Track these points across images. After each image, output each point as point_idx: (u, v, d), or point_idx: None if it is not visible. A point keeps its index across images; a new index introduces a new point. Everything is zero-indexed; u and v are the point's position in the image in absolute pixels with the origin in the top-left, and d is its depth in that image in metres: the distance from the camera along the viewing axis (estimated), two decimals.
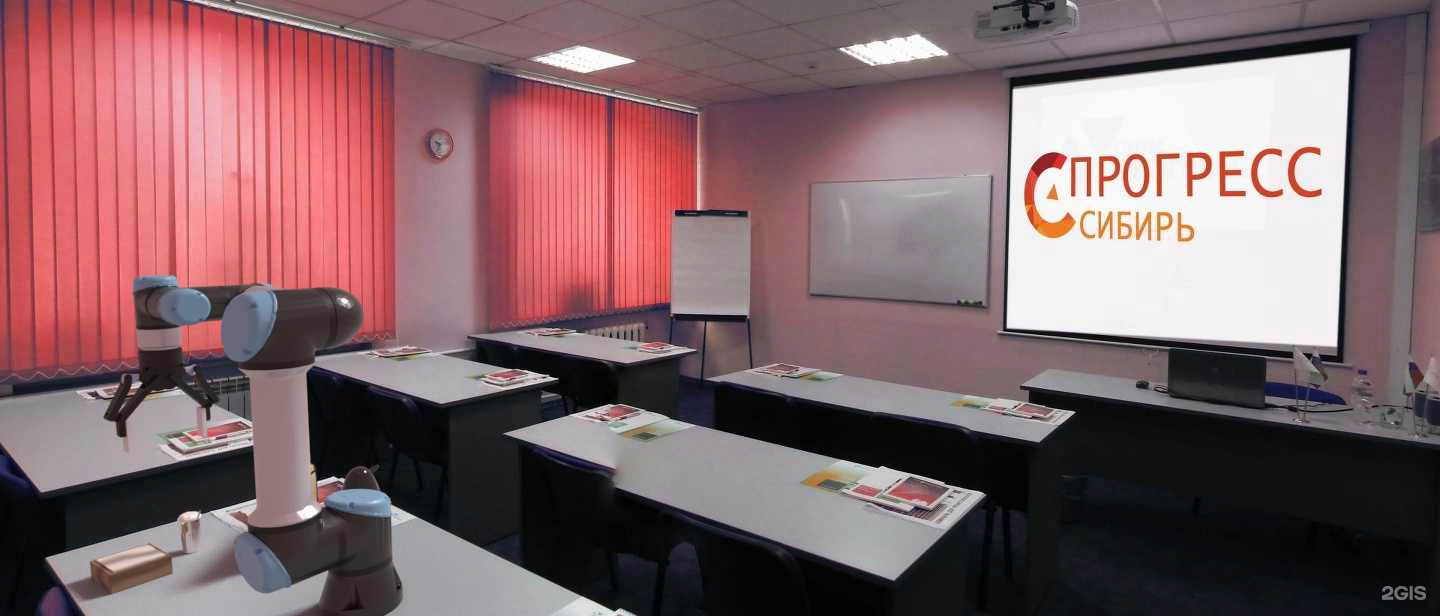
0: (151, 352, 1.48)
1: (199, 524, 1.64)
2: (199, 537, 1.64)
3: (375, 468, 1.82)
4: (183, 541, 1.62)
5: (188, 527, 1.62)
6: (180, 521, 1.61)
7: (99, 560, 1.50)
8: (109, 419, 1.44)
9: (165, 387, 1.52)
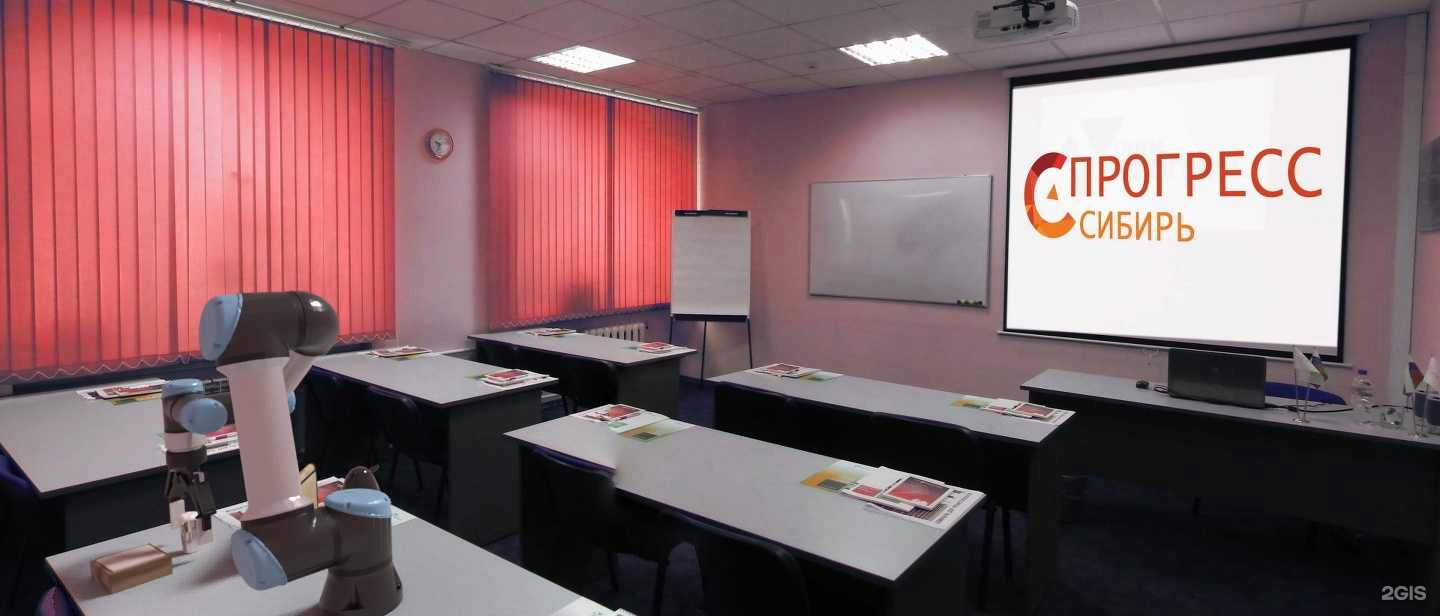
0: None
1: None
2: None
3: (375, 468, 1.82)
4: (183, 541, 1.62)
5: (188, 527, 1.62)
6: (180, 521, 1.61)
7: (99, 560, 1.50)
8: (164, 495, 1.67)
9: (183, 484, 1.61)
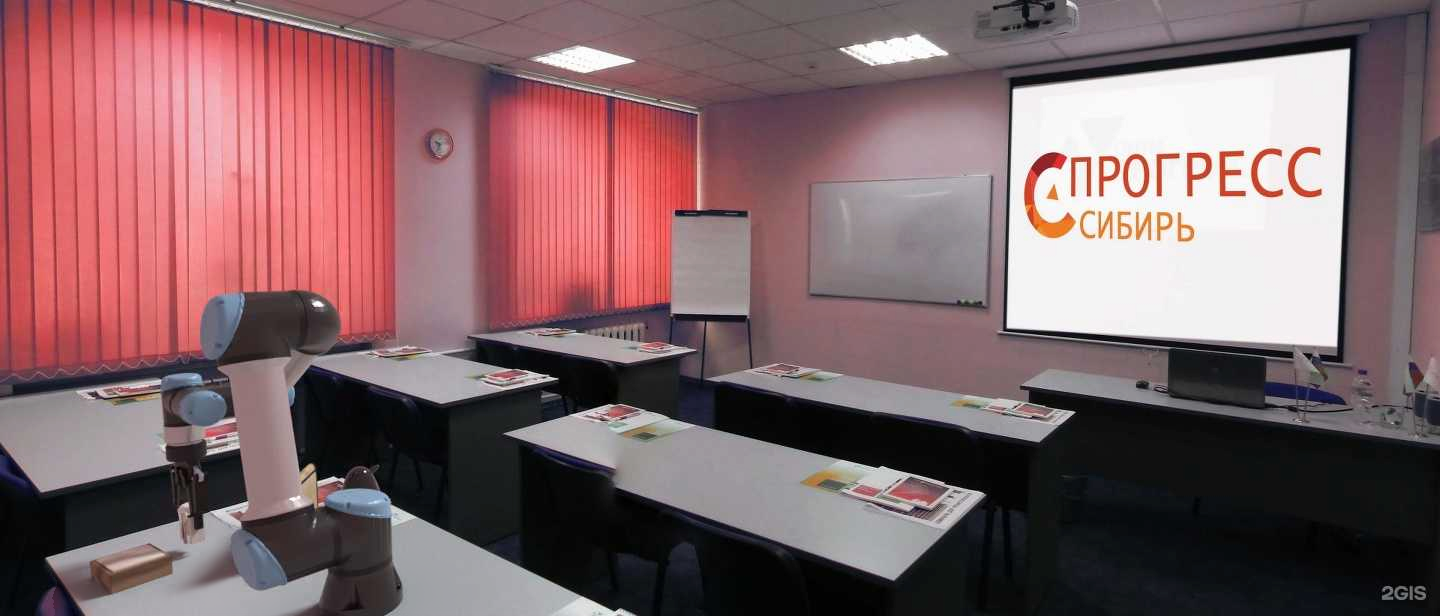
0: None
1: None
2: None
3: (375, 468, 1.82)
4: (183, 531, 1.62)
5: (188, 518, 1.61)
6: (180, 511, 1.60)
7: (99, 560, 1.50)
8: (173, 504, 1.65)
9: None
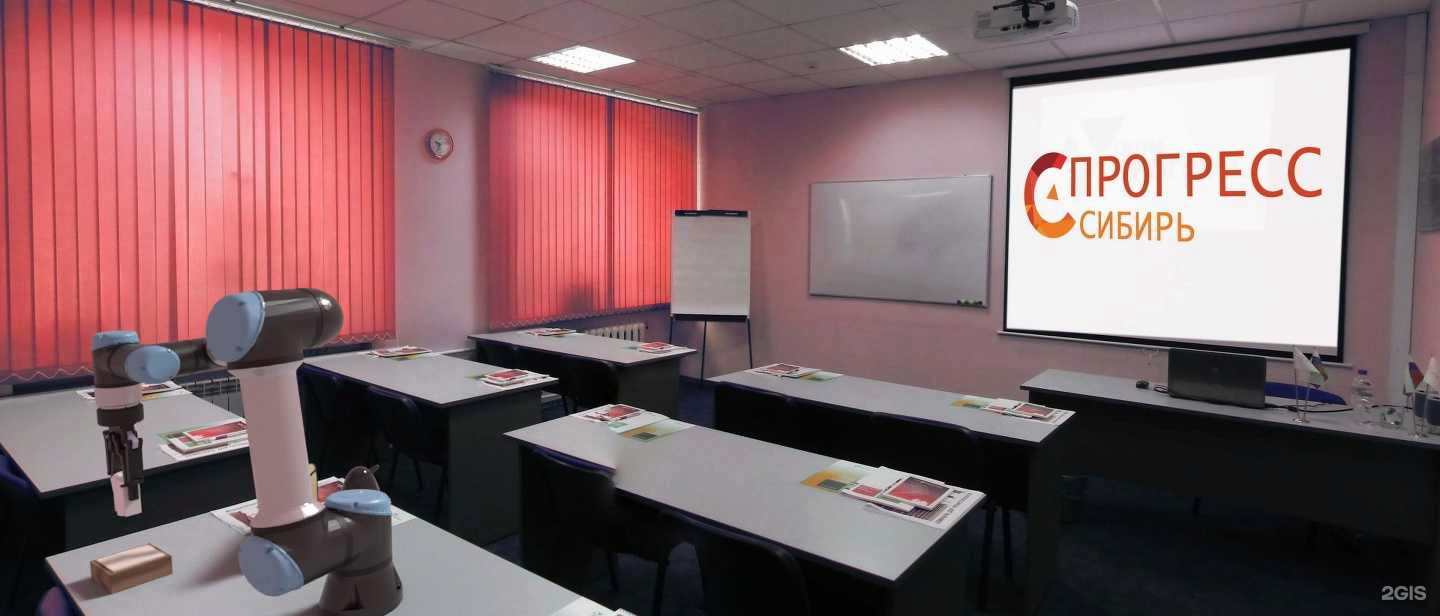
0: None
1: None
2: None
3: (375, 468, 1.82)
4: (117, 502, 1.49)
5: None
6: (113, 480, 1.47)
7: (99, 560, 1.50)
8: (108, 473, 1.51)
9: None
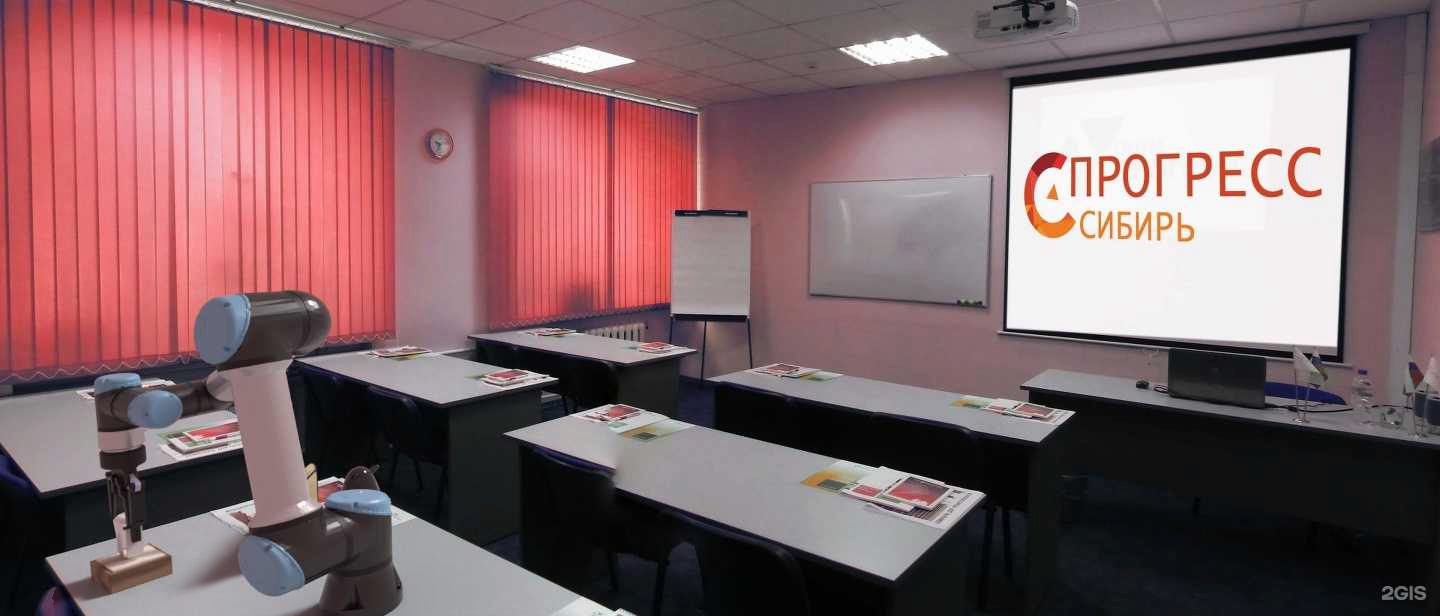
0: None
1: None
2: None
3: (375, 468, 1.82)
4: (119, 544, 1.49)
5: None
6: (116, 522, 1.48)
7: (99, 560, 1.50)
8: None
9: None
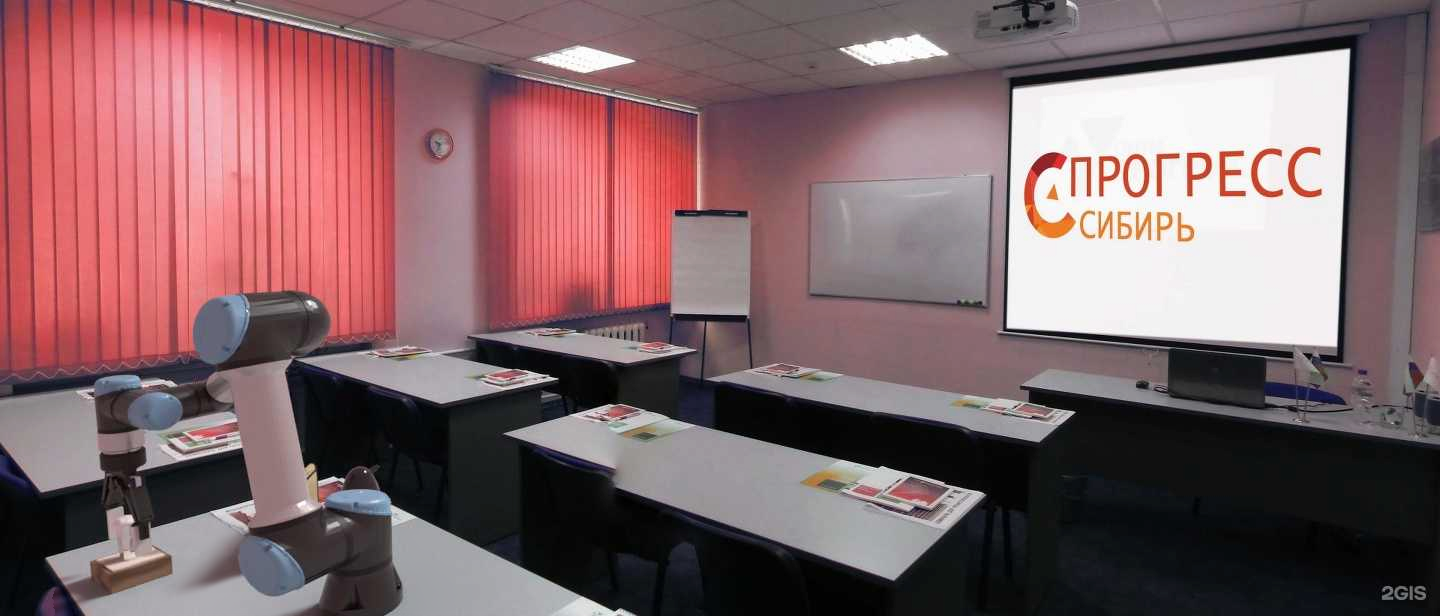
0: None
1: None
2: None
3: (375, 468, 1.82)
4: (120, 547, 1.49)
5: (125, 532, 1.49)
6: (116, 525, 1.48)
7: (99, 560, 1.50)
8: None
9: None
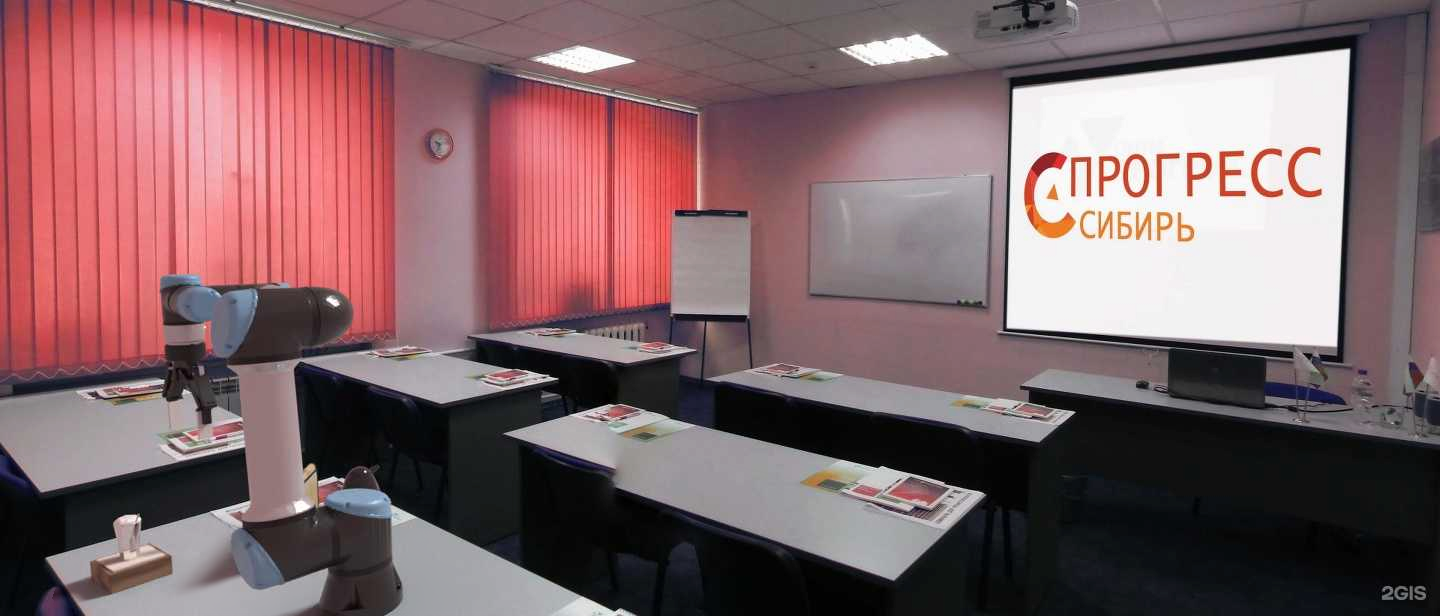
0: None
1: (138, 528, 1.51)
2: (138, 543, 1.52)
3: (375, 468, 1.82)
4: (120, 547, 1.49)
5: (125, 532, 1.49)
6: (116, 525, 1.48)
7: (99, 560, 1.50)
8: (162, 395, 1.66)
9: (182, 380, 1.61)
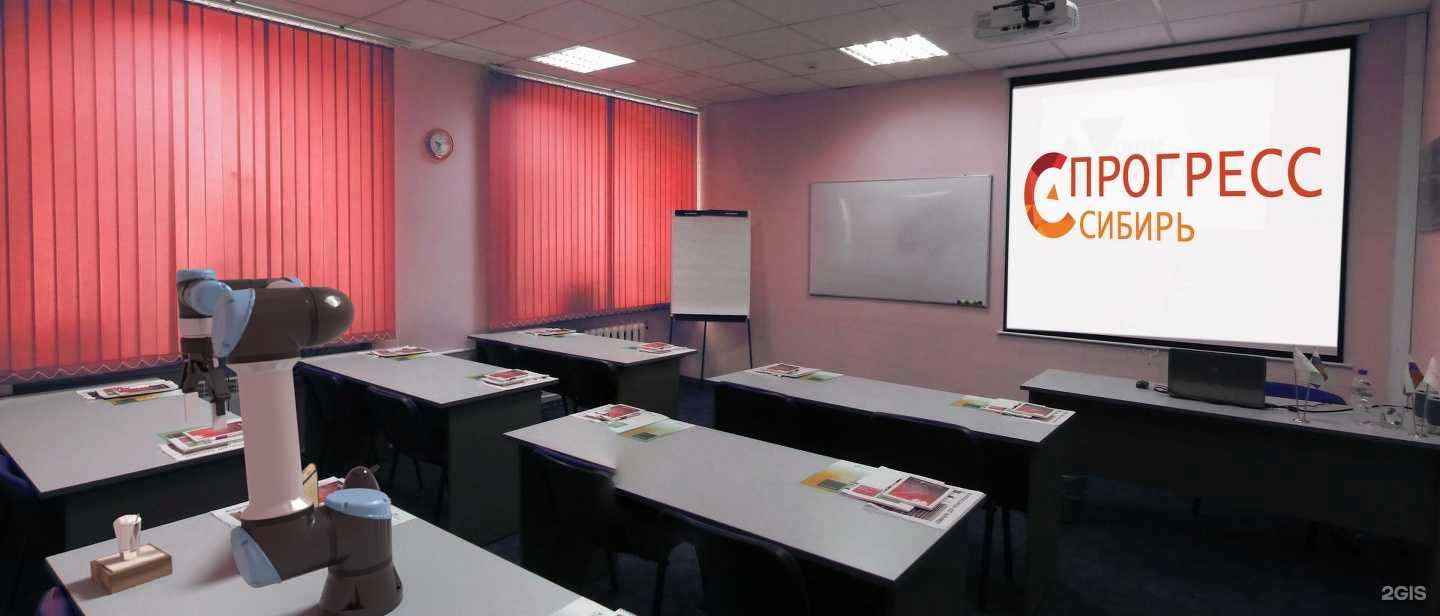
0: None
1: (138, 528, 1.51)
2: (138, 543, 1.52)
3: (375, 468, 1.82)
4: (120, 547, 1.49)
5: (125, 532, 1.49)
6: (116, 525, 1.48)
7: (99, 560, 1.50)
8: None
9: (197, 372, 1.64)
